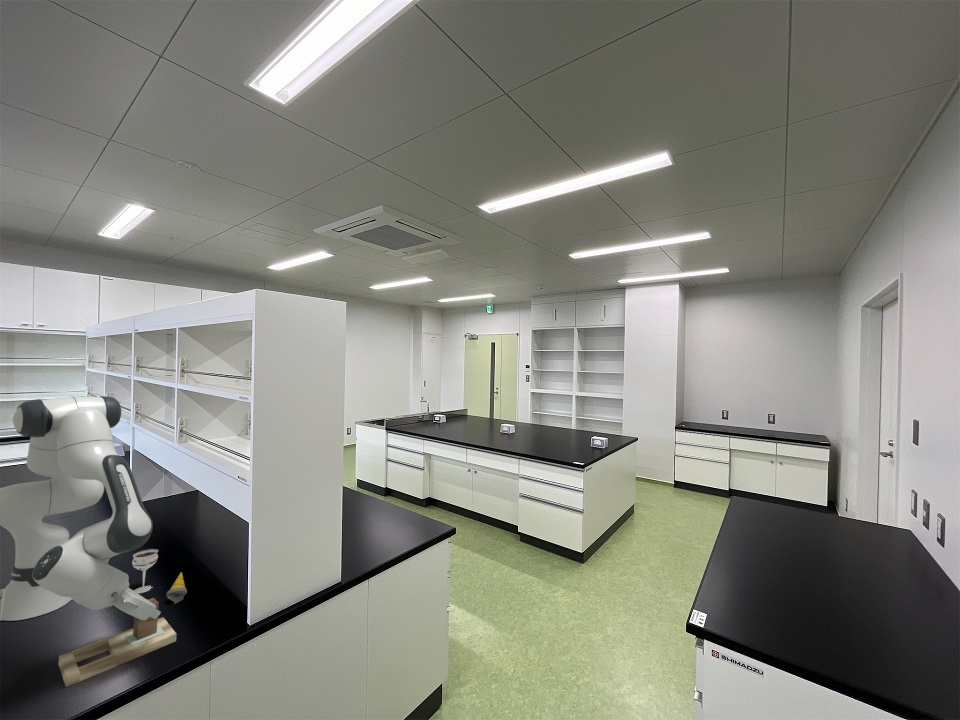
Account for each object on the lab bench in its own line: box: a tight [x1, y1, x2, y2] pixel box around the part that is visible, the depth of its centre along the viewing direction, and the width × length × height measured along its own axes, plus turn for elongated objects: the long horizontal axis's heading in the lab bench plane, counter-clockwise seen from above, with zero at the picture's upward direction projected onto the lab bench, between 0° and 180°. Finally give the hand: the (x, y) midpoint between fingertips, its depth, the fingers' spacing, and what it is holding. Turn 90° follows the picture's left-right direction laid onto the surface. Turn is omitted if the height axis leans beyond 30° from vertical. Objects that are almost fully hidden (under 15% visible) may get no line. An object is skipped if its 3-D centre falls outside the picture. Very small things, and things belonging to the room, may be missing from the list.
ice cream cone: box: [165, 571, 188, 605], centre depth 128 cm, size 5×5×10 cm
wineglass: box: [131, 548, 159, 594], centre depth 133 cm, size 7×7×12 cm
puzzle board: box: [57, 616, 177, 688], centre depth 103 cm, size 12×21×2 cm, turn 143°
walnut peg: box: [133, 597, 160, 640], centre depth 107 cm, size 4×4×8 cm
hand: (149, 609), depth 108 cm, fingers open, 8 cm apart
